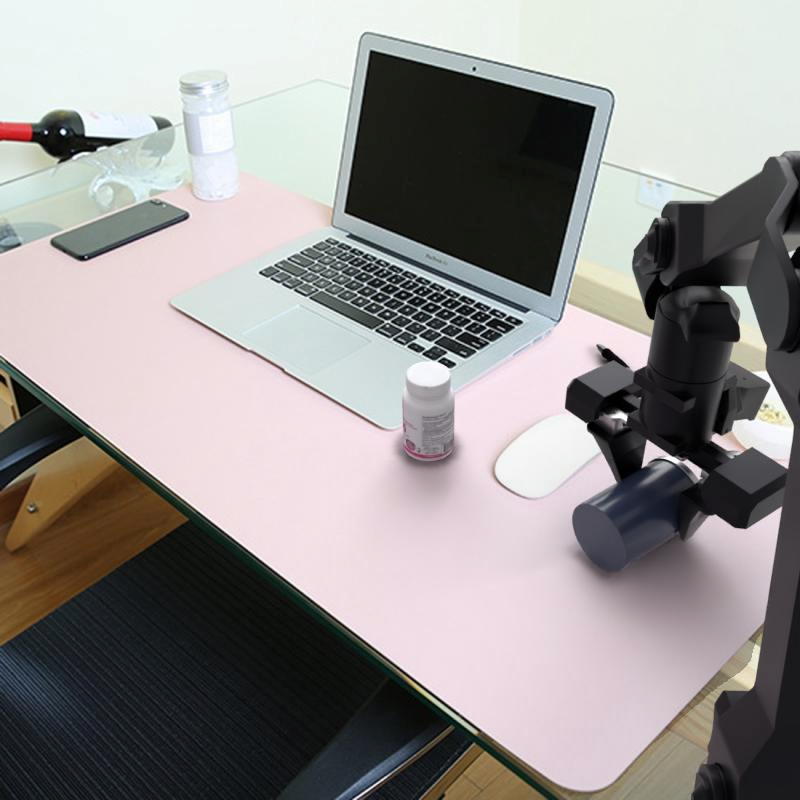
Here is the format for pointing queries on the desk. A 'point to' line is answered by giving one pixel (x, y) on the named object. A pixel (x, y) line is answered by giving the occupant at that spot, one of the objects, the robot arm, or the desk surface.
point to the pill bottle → (428, 412)
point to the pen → (611, 356)
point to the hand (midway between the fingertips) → (656, 516)
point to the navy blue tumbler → (632, 514)
